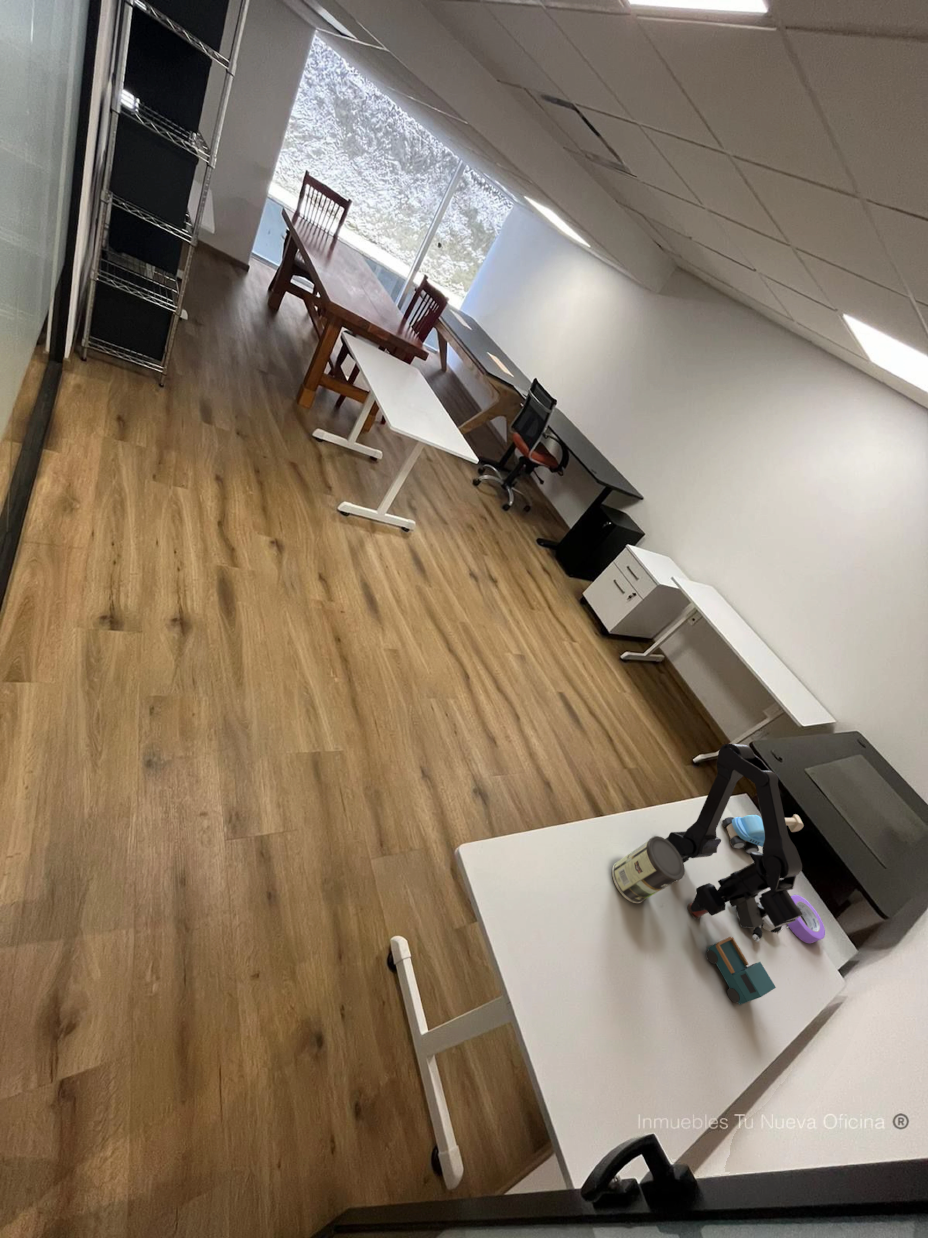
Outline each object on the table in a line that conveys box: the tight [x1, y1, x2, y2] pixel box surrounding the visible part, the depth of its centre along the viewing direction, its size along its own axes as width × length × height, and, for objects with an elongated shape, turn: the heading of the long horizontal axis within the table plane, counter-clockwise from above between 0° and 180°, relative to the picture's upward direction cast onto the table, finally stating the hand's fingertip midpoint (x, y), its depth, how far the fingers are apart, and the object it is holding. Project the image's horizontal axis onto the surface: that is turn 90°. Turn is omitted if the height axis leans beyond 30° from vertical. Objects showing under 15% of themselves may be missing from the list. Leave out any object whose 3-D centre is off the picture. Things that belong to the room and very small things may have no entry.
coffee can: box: [611, 835, 686, 904], centre depth 129 cm, size 10×10×14 cm
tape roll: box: [786, 894, 826, 944], centre depth 153 cm, size 12×12×4 cm
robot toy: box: [736, 890, 789, 943], centre depth 145 cm, size 12×4×15 cm
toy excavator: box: [721, 813, 805, 855], centre depth 163 cm, size 9×17×17 cm, turn 89°
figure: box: [687, 901, 709, 920], centre depth 135 cm, size 4×4×8 cm
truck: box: [705, 936, 777, 1006], centre depth 126 cm, size 12×7×8 cm, turn 24°
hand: (701, 906), depth 135 cm, fingers open, 9 cm apart
